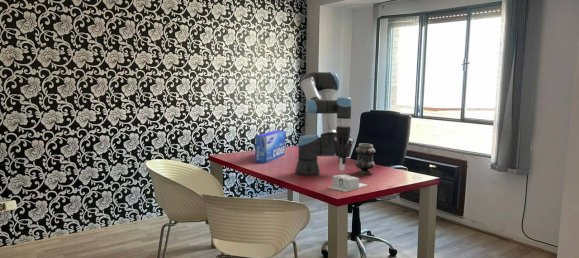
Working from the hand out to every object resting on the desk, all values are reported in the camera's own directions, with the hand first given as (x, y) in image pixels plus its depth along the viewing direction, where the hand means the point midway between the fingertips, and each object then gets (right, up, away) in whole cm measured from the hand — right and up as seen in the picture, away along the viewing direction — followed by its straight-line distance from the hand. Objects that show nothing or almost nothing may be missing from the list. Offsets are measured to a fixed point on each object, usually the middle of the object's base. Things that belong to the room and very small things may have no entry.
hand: (341, 169), depth 236 cm
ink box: (-2, -5, +2) cm, 6 cm away
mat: (+3, -9, -2) cm, 10 cm away
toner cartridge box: (-41, +1, +77) cm, 88 cm away
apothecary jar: (+18, -5, +34) cm, 39 cm away
